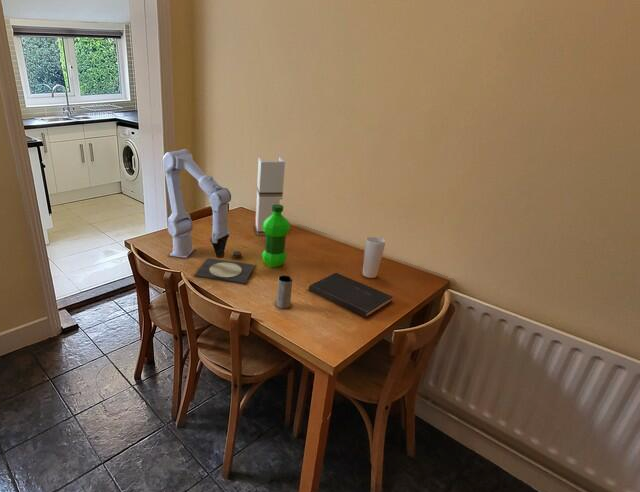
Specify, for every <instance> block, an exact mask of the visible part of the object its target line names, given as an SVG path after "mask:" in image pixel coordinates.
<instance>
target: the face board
mask: <svg viewBox="0 0 640 492" xmlns="http://www.w3.org/2000/svg"><path fill="white" fill-rule="evenodd" d="M255 265H256V264H252V263H250V264H249V263H243V262H236V261H229V260H222V259H218V258H216V259H215V258H207V259H206V261H204V263H203V264H202V266H201V267H200V268H199V269H198V270H197V272H196V273H195V274H194V277H195V278H202V279H208V280H216V281H222V282H227V283H233V284H240V285H246V283H247V282H248V280H249V278H250V275H251V274H252V272H253V270H254V269H255Z"/></svg>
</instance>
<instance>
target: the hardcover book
mask: <svg viewBox="0 0 640 492" xmlns="http://www.w3.org/2000/svg"><path fill="white" fill-rule="evenodd" d="M308 291H309V292H311V293H313V294H316V295H317V296H320V297H322V298H323V299H326V300H328V301H330V302H332V303H334V304H336V305H339V306H341V307H342V308H344V309H346V310H348V311H350V312H353V313H355V314H357V315H359V316H361V317H363V318H365V319H368V317H370V316H372V315H373V314H375V313H377V312H378V311H380V310H382V309H384V308H385V307H386V306H388V305H389V304H391V303H392V302H393V301H392V298H394V297H393V295H390V294H389V293H386V292H383V291H380V290H378V289H376V288H374V287H371V286H369V285H366V284H364V283H362V282H359V281H357V280H355V279H352V278H350V277H349V276H348V277H347V276H345V275H343V274H341V273H338V272H334V273H332V274H330V275H328V276H326V277H324V278H321V279H320V280H317V281H316V282H314V283H312V284H310V285H309V286H308Z"/></svg>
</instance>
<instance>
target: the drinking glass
mask: <svg viewBox="0 0 640 492" xmlns="http://www.w3.org/2000/svg"><path fill="white" fill-rule="evenodd" d="M385 246H386V240H385V239H384V238H382V237H379V236H368V237H366V238H365V243H364V250H363V264H362V276H363V277H365V278H368V279H374V278H377V276H378V272H379V268H380V265H381V262H382V258H383V255H384V251H385Z"/></svg>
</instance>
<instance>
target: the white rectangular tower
mask: <svg viewBox="0 0 640 492" xmlns="http://www.w3.org/2000/svg"><path fill="white" fill-rule="evenodd" d="M285 166H286V161H285V159H283V157H282V156H279V157H278V161H268V160H267V161H266V160H263V159H262V158H261V156H258V160H257V179H256V180H257V182H256V202H255V226H254V227H255V232H256V235H257V236H266V233H265V232H264V231H263V223H264V221H265V220H266V219H267V218H268V217H269V216H271V215H272V214H273V211H272V206H273V205H275V204H278V205H280V202H281V200H283V194H284V180H285Z"/></svg>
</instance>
